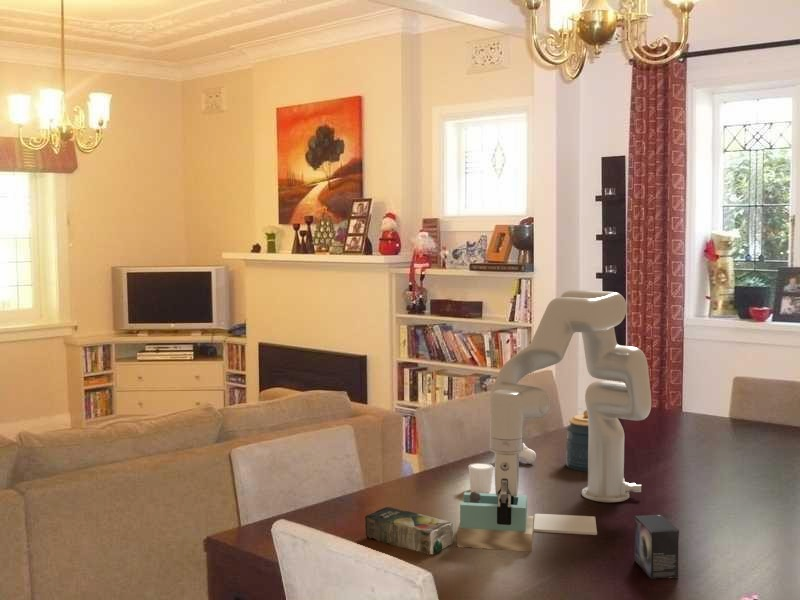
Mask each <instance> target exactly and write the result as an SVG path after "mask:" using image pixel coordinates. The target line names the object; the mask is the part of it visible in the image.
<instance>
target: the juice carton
mask: <svg viewBox="0 0 800 600" xmlns="http://www.w3.org/2000/svg"><path fill="white" fill-rule="evenodd" d="M364 520H365V526H364V527H365V536H366V538H367V539H375V540H377V542H379V543H381V542H382V543H384V544H389V545H390V546H394V547H398V548H403V549H408V550H410V551H415V550H416V552H418V551H420V552H419V553H422V552H424V553H423V554H426V553H428V554H427V555H430V554H432V555H434V554H436V553H439V552H440V551H441V549H442V548H444V547H445V548H447V547H449V546H450V545H449V544H451V545H453V544H452V543H454V542H453V537H454V530H453V525H454V523H453V522H451V521H450V520H449V521H448V520H445V519H440V518H436V517H432V516H429V515H425V514H420V513H415V512H412V511H410V510H400V509H399V508H394V507H390V506H385V507H383V508H380V509H378V510H377V511H374V512H372V513H369V514H367V515H366V516H365V517H364ZM448 545H449V546H448ZM446 546H447V547H446ZM445 548H444V549H445ZM442 550H443V549H442Z"/></svg>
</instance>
